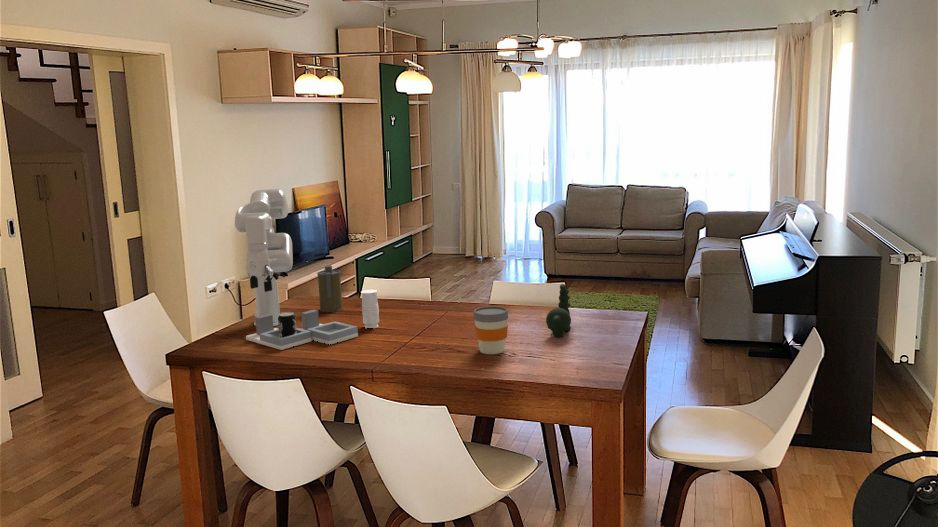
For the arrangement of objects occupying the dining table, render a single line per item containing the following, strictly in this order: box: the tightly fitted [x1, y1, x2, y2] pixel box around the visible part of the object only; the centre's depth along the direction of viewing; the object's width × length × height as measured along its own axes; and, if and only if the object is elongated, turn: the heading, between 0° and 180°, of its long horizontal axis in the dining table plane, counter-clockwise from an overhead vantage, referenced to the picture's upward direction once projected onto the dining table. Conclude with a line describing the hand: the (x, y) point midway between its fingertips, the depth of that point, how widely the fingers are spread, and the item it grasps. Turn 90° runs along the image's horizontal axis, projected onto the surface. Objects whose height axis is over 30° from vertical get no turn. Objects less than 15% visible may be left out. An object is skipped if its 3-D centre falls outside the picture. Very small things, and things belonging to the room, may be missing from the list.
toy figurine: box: [545, 283, 572, 339], centre depth 296 cm, size 9×19×25 cm
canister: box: [316, 264, 344, 313], centre depth 347 cm, size 11×10×20 cm
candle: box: [360, 289, 380, 329], centre depth 316 cm, size 7×7×15 cm
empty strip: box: [301, 309, 359, 346], centre depth 305 cm, size 24×14×8 cm, turn 48°
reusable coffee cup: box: [473, 305, 509, 355], centre depth 278 cm, size 13×13×15 cm
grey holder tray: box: [245, 314, 313, 351], centre depth 301 cm, size 24×14×8 cm, turn 48°
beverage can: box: [277, 311, 297, 338], centre depth 296 cm, size 7×7×12 cm
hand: (261, 289), depth 304 cm, fingers open, 9 cm apart
